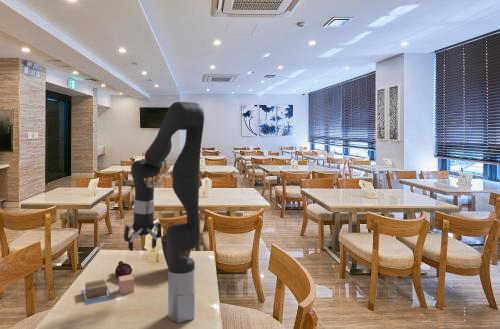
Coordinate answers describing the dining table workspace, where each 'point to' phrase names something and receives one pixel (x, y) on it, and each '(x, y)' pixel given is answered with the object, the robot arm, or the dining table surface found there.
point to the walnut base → (96, 289)
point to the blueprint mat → (97, 299)
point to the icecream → (123, 269)
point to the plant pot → (164, 247)
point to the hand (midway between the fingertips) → (142, 248)
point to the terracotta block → (126, 284)
